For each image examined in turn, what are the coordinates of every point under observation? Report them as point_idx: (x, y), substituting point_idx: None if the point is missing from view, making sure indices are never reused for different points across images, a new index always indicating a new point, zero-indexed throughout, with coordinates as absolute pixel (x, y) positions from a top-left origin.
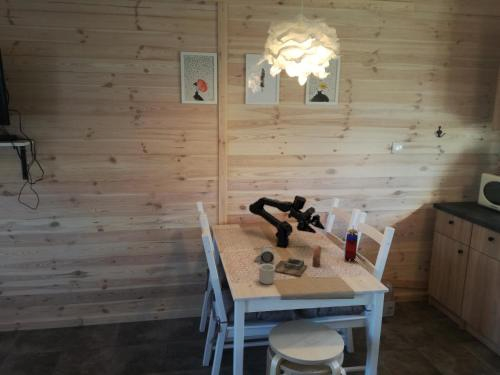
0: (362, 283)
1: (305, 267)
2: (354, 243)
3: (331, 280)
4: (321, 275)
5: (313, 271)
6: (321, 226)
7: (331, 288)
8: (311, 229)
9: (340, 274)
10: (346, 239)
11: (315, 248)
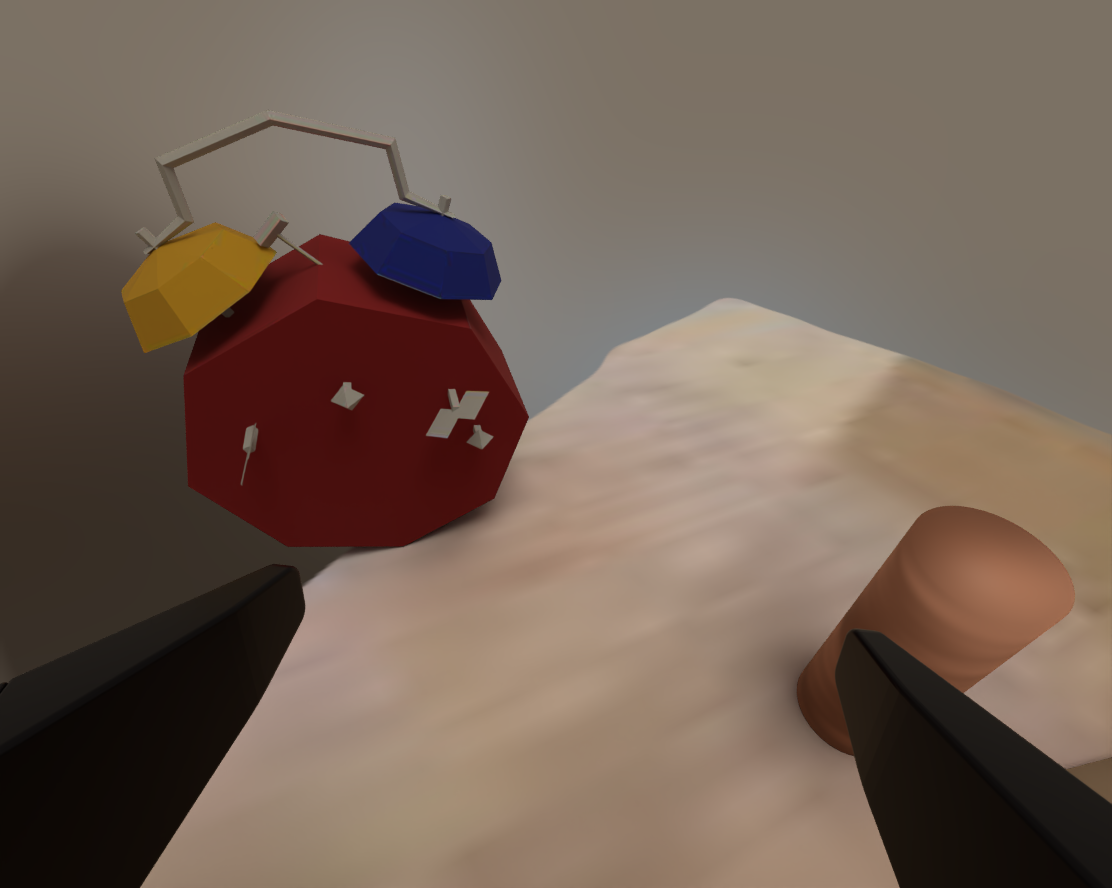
0: (775, 349)
1: (1078, 771)
2: (466, 299)
3: (944, 472)
4: None
5: None
6: (204, 674)
7: (1041, 434)
8: (1068, 811)
9: (783, 462)
10: (457, 324)
11: (1055, 572)
